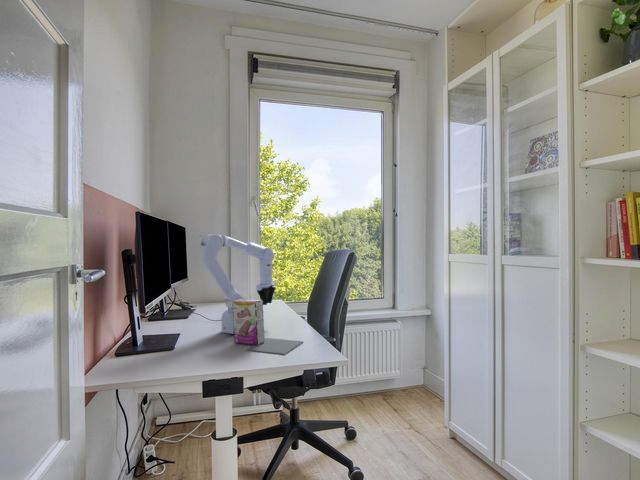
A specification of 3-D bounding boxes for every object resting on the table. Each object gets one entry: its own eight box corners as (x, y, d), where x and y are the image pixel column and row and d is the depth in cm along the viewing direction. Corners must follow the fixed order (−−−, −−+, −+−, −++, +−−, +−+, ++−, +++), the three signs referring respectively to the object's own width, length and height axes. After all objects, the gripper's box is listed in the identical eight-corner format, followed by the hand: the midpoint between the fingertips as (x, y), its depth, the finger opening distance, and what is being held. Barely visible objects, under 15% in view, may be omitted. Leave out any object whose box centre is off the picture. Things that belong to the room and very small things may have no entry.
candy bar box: (233, 343, 144) (231, 301, 144) (241, 340, 148) (239, 299, 148) (257, 345, 139) (255, 301, 139) (265, 342, 144) (263, 299, 144)
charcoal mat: (245, 350, 135) (245, 349, 135) (266, 338, 150) (266, 337, 150) (285, 354, 130) (285, 353, 130) (303, 342, 145) (303, 341, 145)
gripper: (266, 276, 162) (266, 307, 163) (281, 272, 176) (281, 301, 176) (251, 275, 165) (252, 306, 165) (267, 272, 178) (268, 300, 179)
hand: (266, 303), depth 171 cm, fingers open, 4 cm apart
